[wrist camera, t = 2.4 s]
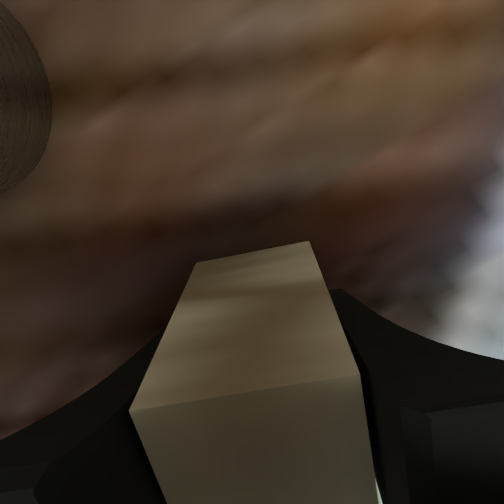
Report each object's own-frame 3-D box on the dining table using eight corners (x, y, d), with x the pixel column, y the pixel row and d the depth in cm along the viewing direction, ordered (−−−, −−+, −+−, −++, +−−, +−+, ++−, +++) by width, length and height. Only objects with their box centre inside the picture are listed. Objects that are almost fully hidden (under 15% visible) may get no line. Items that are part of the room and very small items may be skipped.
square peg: (223, 357, 14) (190, 560, 8) (195, 262, 13) (128, 411, 6) (326, 339, 14) (383, 537, 7) (308, 240, 13) (359, 373, 6)
